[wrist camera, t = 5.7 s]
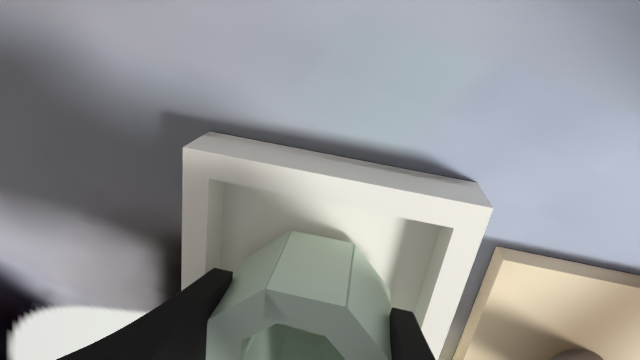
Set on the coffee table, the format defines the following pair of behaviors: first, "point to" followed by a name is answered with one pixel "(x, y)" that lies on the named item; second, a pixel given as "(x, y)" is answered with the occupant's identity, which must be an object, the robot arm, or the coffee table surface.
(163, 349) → the robot arm
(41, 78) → the coffee table surface
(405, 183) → the tray
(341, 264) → the ring
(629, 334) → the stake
